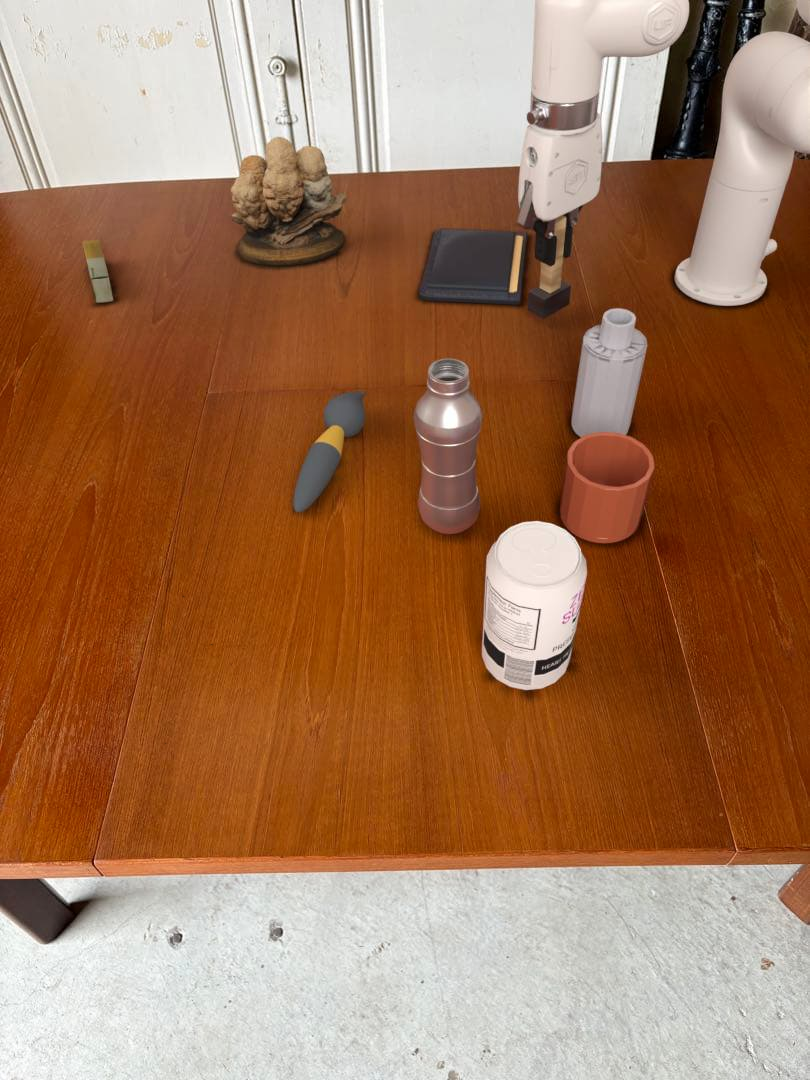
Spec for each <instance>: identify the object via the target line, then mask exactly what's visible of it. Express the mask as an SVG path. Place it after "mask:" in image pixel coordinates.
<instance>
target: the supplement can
mask: <svg viewBox="0 0 810 1080" xmlns="http://www.w3.org/2000/svg"><path fill="white" fill-rule="evenodd" d="M485 562H486V564H485V581H484V599H483V600H484V601H483V620H482V641H481V658H482V660H483V663H484V666H485V668H486V670H487V671H488V672H489V673H490V674H491V675H492V677H494V678H495V680H497V681H499V682H500V683H503V684H504V685H506V686H508V687H509V688H514V689H519V690H524V691H529V690H530V691H531V690H541V689H544V688H546V687H548V686H551V685H553V684H555V683H556V682H557V681H558V680H560V679H561V677H562V676H563V675H565V673H566V671H567V668H568V666H569V664H570V661H571V657H572V651H573V646H574V641H575V636H576V631H577V626H578V620H579V617H580V611H581V606H582V601H583V596H584V592H585V587H586V581H587V576H588V568H587V566H588V565H587V559H586V558H585V556H584V554H583V552H582V549H581V547H580V545H579V542H578V541H577V539H576V538H575V537H574V536H573V535H572V534H571V533H570V532H568V531H567V529H565V528H563V527H560V526H558V525H556V524H553V523H551V522H545V521H539V520H534V521H523V522H520V523H518V524H517V523H516V524H515V525H512V526H510V527H509V528H507V529H505V531H503V532H502V533H501V534H500V535H499V537H498V538H497V540H495V542H493V544H492V545H491V547H490V549H489V551H488V553H487V555H486V561H485Z"/></svg>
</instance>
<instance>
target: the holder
mask: <svg viewBox="0 0 810 1080" xmlns="http://www.w3.org/2000/svg"><path fill="white" fill-rule="evenodd" d="M654 472H655V460H654V455H653V454H652V453H651V451H650V450H649V448H647V446H646V445H645V444H644V443H642V442H641V441H639V440H637V439H636V438H634V437H633V436H629V435H627V434H626V435H623V434H620V433H616V432H597V433H593V434H588V435H585V436H583V437H580V438H578V439H576V440H575V441H574V442H573V443H571V445H570V447H569V449H568V451H567V453H566V460H565V466H564V473H563V480H562V487H561V492H560V501H559V517H560V519H561V521H562V523H563V525H564V527H565V528H566V530H568V531H569V532H570V533H572V534H573V535H575V536H576V537H578V538H580V539H582V540H584V541H588V542H591V543H596V544H612V543H618V542H621V541H624V540H626V539H627V538H629V537H631V536H632V535H633V534H634V533H635V532H636V531H637V530H638V528H639V526H640V523H641V519H642V517H643V514H644V511H645V508H646V507H645V506H646V503H647V499H648V494H649V491H650V488H651V483H652V480H653V475H654Z"/></svg>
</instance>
